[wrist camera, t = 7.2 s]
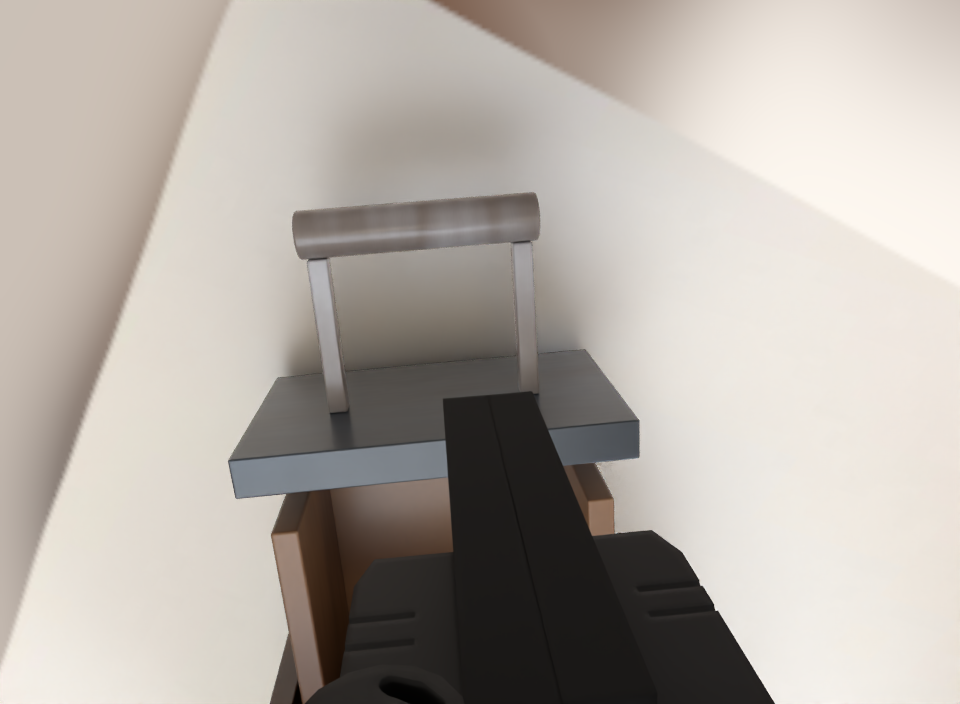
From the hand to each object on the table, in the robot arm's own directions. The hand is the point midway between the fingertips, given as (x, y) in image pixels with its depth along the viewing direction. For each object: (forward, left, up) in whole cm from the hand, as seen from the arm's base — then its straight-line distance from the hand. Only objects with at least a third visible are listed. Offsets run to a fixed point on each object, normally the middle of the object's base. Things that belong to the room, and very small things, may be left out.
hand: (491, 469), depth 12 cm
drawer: (+6, -1, -14) cm, 15 cm away
